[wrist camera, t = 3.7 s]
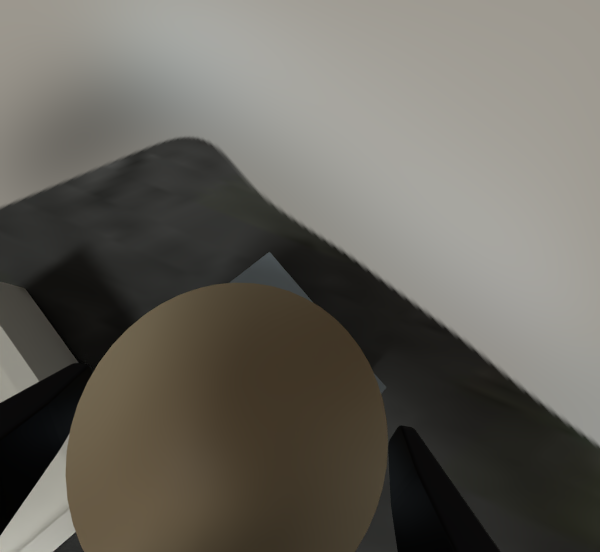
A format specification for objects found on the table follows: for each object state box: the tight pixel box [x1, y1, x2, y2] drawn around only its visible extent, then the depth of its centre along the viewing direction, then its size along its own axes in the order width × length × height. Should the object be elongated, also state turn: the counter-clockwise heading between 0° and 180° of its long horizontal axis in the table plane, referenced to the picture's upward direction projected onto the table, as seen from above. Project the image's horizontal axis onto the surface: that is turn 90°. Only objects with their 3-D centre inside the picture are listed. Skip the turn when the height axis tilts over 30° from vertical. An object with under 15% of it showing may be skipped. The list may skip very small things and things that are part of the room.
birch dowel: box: [65, 283, 388, 552], centre depth 11 cm, size 4×4×13 cm
